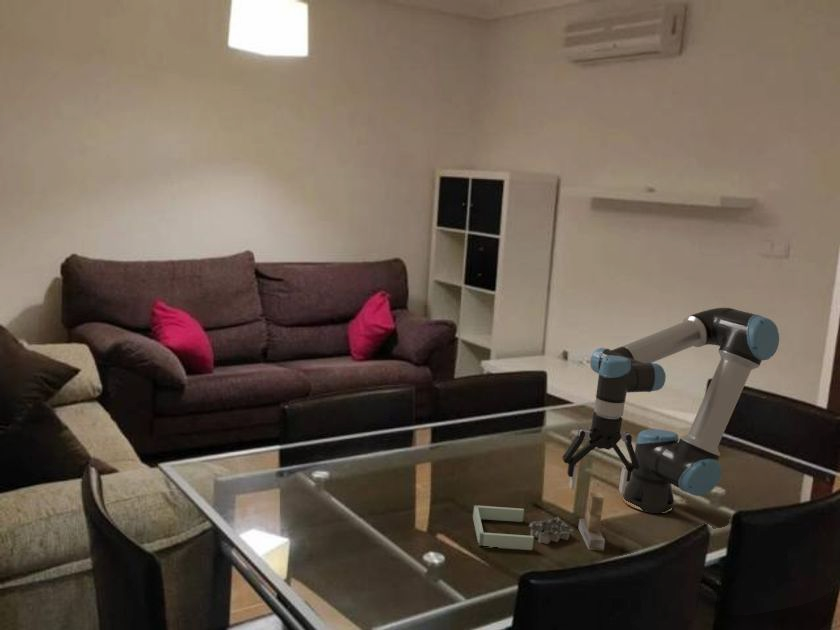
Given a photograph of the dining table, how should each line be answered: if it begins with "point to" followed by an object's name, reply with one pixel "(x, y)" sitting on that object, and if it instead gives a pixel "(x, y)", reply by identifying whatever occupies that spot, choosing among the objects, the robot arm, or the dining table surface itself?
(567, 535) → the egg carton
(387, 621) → the dining table surface
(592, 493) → the scraper
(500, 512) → the box
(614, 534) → the dining table surface
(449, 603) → the dining table surface
